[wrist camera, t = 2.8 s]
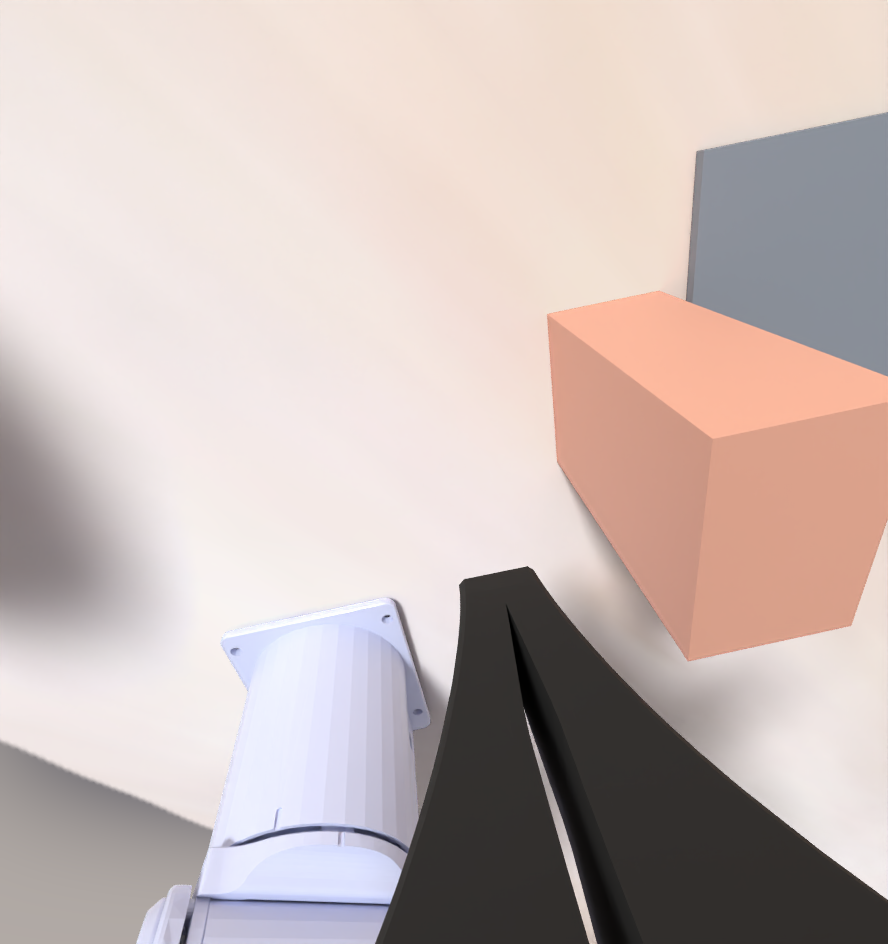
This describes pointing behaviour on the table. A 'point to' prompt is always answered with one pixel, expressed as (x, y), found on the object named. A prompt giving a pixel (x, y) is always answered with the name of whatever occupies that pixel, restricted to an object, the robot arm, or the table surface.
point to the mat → (798, 237)
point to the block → (722, 466)
